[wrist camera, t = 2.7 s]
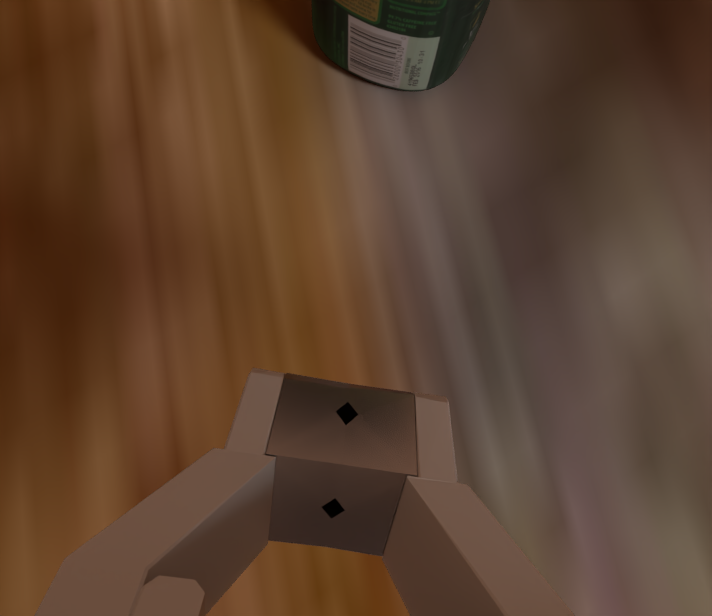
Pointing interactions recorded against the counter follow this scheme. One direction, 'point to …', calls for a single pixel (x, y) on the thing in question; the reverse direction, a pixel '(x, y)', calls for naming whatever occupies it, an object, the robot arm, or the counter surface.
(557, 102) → the counter surface
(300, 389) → the robot arm
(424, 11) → the coffee jar
